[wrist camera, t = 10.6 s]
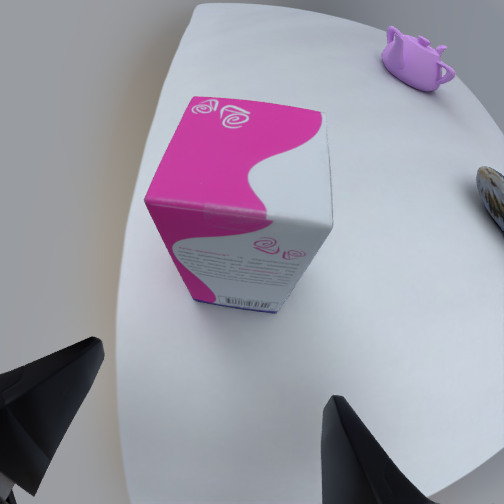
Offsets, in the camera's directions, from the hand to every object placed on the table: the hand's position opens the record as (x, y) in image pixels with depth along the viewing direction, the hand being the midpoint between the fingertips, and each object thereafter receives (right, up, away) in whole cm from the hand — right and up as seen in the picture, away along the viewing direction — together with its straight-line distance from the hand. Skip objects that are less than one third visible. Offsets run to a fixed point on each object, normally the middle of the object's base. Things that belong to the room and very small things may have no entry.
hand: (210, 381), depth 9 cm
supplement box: (+1, +4, +10) cm, 11 cm away
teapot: (+29, +36, +26) cm, 52 cm away
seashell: (+33, +8, +14) cm, 37 cm away
